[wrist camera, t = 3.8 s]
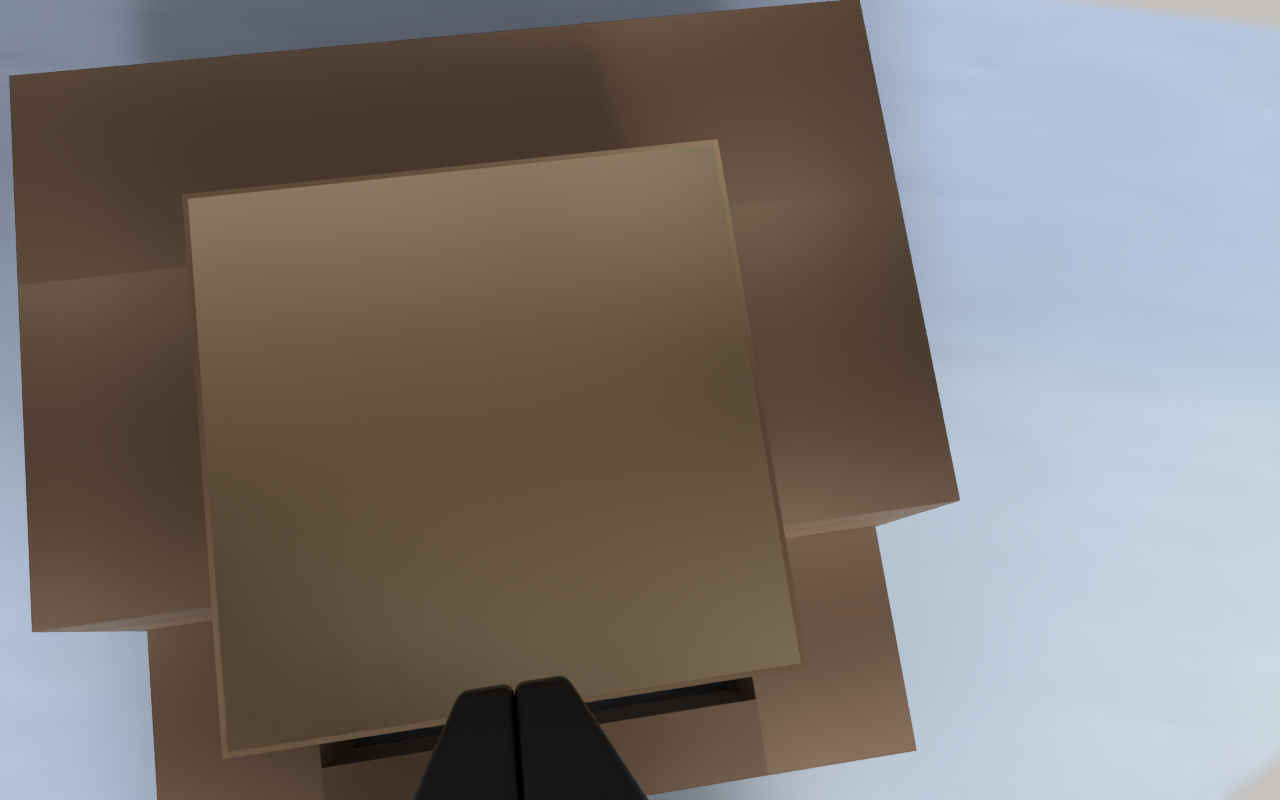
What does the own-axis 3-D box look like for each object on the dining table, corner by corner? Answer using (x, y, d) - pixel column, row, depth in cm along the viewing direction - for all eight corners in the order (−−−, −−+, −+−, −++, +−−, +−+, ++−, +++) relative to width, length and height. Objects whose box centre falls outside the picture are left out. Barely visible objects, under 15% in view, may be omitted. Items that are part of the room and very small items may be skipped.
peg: (702, 650, 17) (806, 667, 10) (361, 704, 16) (222, 759, 9) (653, 327, 18) (717, 139, 11) (328, 366, 17) (181, 194, 10)
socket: (865, 733, 21) (1017, 784, 14) (219, 838, 20) (44, 951, 13) (768, 183, 23) (859, -2, 16) (178, 247, 22) (9, 75, 15)
